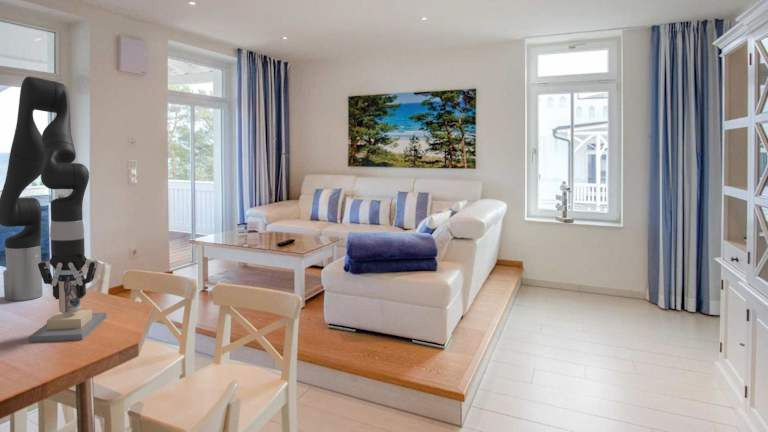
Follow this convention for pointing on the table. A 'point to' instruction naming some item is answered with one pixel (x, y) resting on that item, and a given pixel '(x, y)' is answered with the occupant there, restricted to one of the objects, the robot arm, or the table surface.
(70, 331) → the slate board
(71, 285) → the beer can
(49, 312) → the table surface
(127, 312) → the table surface
